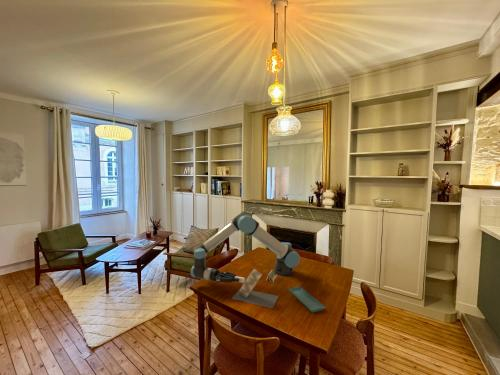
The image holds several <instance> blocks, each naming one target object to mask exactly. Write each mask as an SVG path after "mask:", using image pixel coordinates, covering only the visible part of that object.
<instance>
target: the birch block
mask: <svg viewBox="0 0 500 375" xmlns="http://www.w3.org/2000/svg"><path fill="white" fill-rule="evenodd" d="M262 275H263V273H261V272H260V271H258V270H257V269H256V268H254V269H253V270H252V271H251V272H250V273H249V274H248V277H246V278H245V282H244V283H242V286H241V287H240V288H239V289H238V291H239V292H240V293H241V294H242V295H243V296H244V297H245V298H247V296H248V295H249V294H250V292H251V291H253V289H254V288H255V286H256V285H257V284H258V282H259V281H260V279H261V277H262Z"/></svg>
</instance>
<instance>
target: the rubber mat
mask: <svg viewBox="0 0 500 375" xmlns="http://www.w3.org/2000/svg"><path fill="white" fill-rule="evenodd" d="M278 299H279V295H275V294H271V293H270V294H269V293H264V292H260V291H255V290H252V291H251V292H250V294H249V295H248V296H247V298H245V297H244V296H243V295H242V294H241V293H240V292H239V290H237V292H236V293H235V294H234V295H233V296H232V297H231V300H235V301H238V302H239V301H240V302H245V303H248V304H253V305H257V306H261V307H266V308H270V309H272V310H273V309H274V307H275V304H276V302H277V300H278Z"/></svg>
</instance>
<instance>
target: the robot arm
mask: <svg viewBox="0 0 500 375" xmlns="http://www.w3.org/2000/svg"><path fill="white" fill-rule="evenodd" d="M239 231H240V232H241V233H243V234H245V235H247V236H248V237H253V238H254V239H256V240H257V241H258V242H260V243H261V244H262V245H264V246H265V247H266V248H268V249H269V250H270V251H271V252H272V253H274V254H275V255H276V259H275V261H276V262H275V264H274V267H273V272H274V273H275V274H276V273H277V275H279V276H290V275H292V274H294V268H295V267H297V266H298V265H299V264H300V260H301V256H300V254H299V253H298V252H297V251H296V250H294V249H293V247H292V243H290V242H288V241H287V242H283V241H282V242H281V241H279V240H278V239H277V238H275V236H273V235H271V234H270V232H267V231H266V230H265V229H264V228H263V227H261V225H260V223H259V222H258V221H257V220H256V219H255V218H254V217H252V216H251V215H250V214H249V213H246V212H242V213H239V214H237V215H236V216H235V217H234V218H233V219H231V220H230V222H229V223H228V224H227V225H225V227H223V228H221V229H220V230H218V232H216V233H215V234H214V235H212V236H211V237H209V239H207V240H206V241H204V242H203V243H202V244H199V245H197V246H196V248H195V249H194V250H193V261H194V262H193V264H194V265H192V267H191V269H190V276H191V277H193V278H195V279H203V280H207V281H212V282H216V283H231V284H232V283H233V284H234V283H236V282H237V283H242V284H244V282H245V281H246V277H242V276H237V274H236V273H234V272H230V271H228V270H224V272H223V271H220V270H219V269H217V268H213V267H212V268H211V267H207V266H206V255H207V254H208V253H209V252H210V251H212V250H213V249H215V248H216V247H217V246H219V245H220V244H221V243H222V242H224V241H225V240H227V239H228V238H229V237H230V236H232V235H233V234H234V233H235V232H239Z"/></svg>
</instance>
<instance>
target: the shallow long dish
mask: <svg viewBox="0 0 500 375" xmlns="http://www.w3.org/2000/svg"><path fill="white" fill-rule="evenodd" d="M288 290H289V292H290V294H292V295H293V296H294V297H295V298H296V299H297V300H298V301H299V302H300V303H301V304H302V305H303V306H304V307H305V308H306V309H308V310H309V311H310V312H311V313H317V312H321V311H324V309H325V308H326V307H325V305H323V304H322V303H321V302H320V301H318V300H317V299H316V298H315V297H314V296H312V294H310V293H309V292H308V291H307V290H305V289H304V288H303V287H302V286H296V287H295V286H294V287H291V288H290V287H289V288H288Z"/></svg>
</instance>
